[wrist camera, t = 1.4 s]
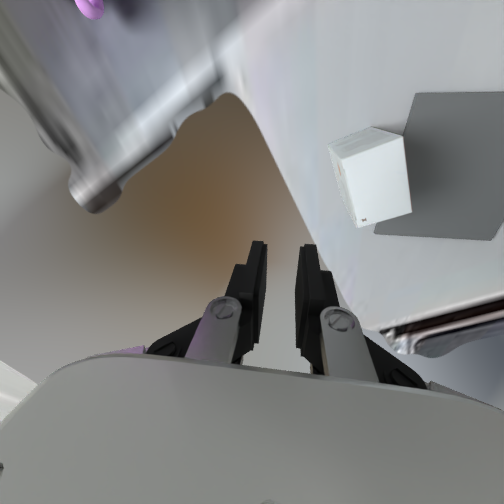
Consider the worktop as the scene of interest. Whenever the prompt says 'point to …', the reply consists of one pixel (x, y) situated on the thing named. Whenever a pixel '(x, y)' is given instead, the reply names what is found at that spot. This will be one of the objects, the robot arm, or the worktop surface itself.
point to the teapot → (91, 8)
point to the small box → (372, 175)
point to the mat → (453, 167)
